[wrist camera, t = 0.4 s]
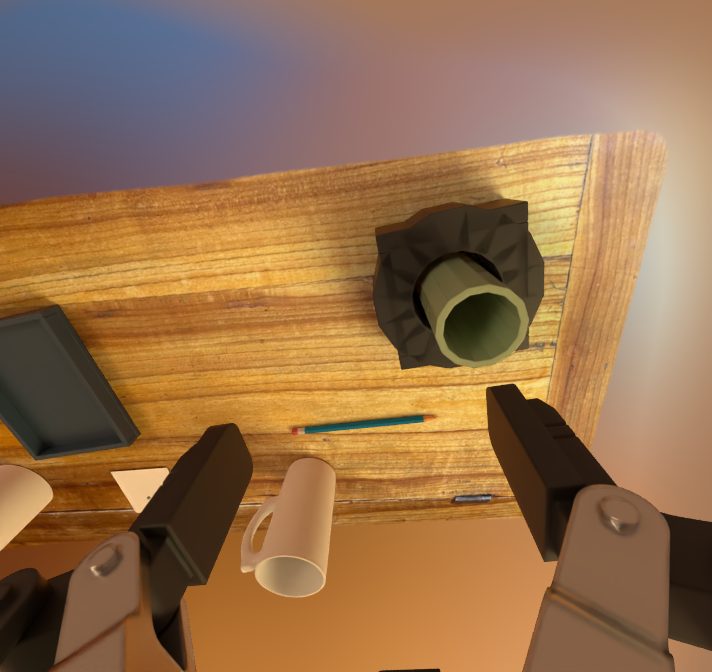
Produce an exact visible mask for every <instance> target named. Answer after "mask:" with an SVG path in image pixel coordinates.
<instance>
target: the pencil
mask: <svg viewBox="0 0 712 672" xmlns="http://www.w3.org/2000/svg"><path fill="white" fill-rule="evenodd" d="M436 418H438V417H436V416H413V417H403V418H393V419H383V420H373V421H363V422H353V423H343V424H333V425H323V426H313V427H303V428H293V429H292V434H293V435H297V434H307V433H318V432H328V431H338V430H348V429H359V428H369V427H379V426H389V425H399V424H410V423H420V422H426V421H429V420H432V419H436Z"/></svg>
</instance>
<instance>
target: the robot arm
mask: <svg viewBox="0 0 712 672" xmlns="http://www.w3.org/2000/svg"><path fill="white" fill-rule="evenodd" d="M486 400H487V417H488V430H489V436H490V440H491V444H492V447H493V449H494V452H495V454H496V456H497V458H498V460H499V463H500V465H501V467H502V469H503V472H504V474H505V476H506V478H507V480H508V483H509V485H510V487H511V489H512V492H513V494H514V496H515V498H516V500H517V503H518V505H519V507H520V509H521V511H522V514H523V516H524V518H525V520H526V523H527V525H528V527H529V529H530V531H531V534H532V536H533V538H534V540H535V542H536V545H537V547H538V549H539V551H540V553H541V556H542V558H543V560H544V562H549V561H558V563H557V566H556V570H555V574H554V578H553V581H552V584H551V586H550V587H548V588H547V589H546V591H545V594H544V597H543V600H542V603H541V607H540V610H539V614H538V618H537V621H536V624H535V628H534V632H533V635H532V639H531V642H530V646H529V649H528V653H527V657H526V660H525V664H524V667H523V671H522V672H675V666H674V659H673V656H672V654H670V653H669V648H668V638H670V639H673V640H676V641H680V642H683V643H687V644H691V645H693V646H697V647H700V648H704V649H707V650H710V651H712V522H707V521H701V520H695V519H689V518H684V517H678V516H673V515H669V514H665V513H662V512H659V511H658V509H656V508H655V507H654V506H653V505H652V504H651V503H650V502H648V501H647V500H646V499H644V498H642V497H641V496H639V495H637V494H635V493H633V492H631V491H629V490H626V489H624V488H620V487H618V486H617V485H616V484H615V483H614V481H613V480H612V479H611V478H610V476H609V475H608V474H607V473H606V471H605V470H604V469H603V468H602V466H601V465H600V464H599V463H598V462H597V460H596V459H595V458H594V457H593V455H592V454H591V453H590V452H589V450H588V449H587V448H586V447H585V445H584V444H583V443H582V442H581V440H580V439H579V438H578V437H576V436H575V433H574V432H573V431H572V429H571V428H570V427H569V426H568V425H566V422H565V421H564V419H563V418H562V417H561V416H560V415H559V413H558V412H557V411H556V410H555V408H553V407H551V406H550V405H548V404H546V403H545V402H543V401H541V400H540V399H538V398H535V399H528V400H526V399H525V397H524V396H523V395H522V393H521V392H520V390H519V389H518V388H517V386H516V385H515V384H507V385H500V386H493V387H487V389H486ZM252 472H253V462H252V458H251V455H250V453H249V451H248V448H247V446H246V444H245V442H244V440H243V437H242V435H241V433H240V431H239V428H238V427H237V425H236V424H234V423H229V424H222V425H215V426H210V427H209V428H208V429H207V430H206V431H205V433H204V434H203V436H202V437H201V438H200V440H199V441H198V443H197V444H195V445H194V446H192V447H191V448H190V449H189V450H188V451H187V452H186V453H185V454H183V455H182V456H181V457H180V459H179V460H178V462H177V463H176V464H175V466H174V467H173V469H172V470H171V473H169V474H168V476H167V477H166V478H165V480H164V481H163V485H160V487H159V488H158V490H157V491H156V492H155V494H154V495H153V497H152V498H151V499H150V501H149V502H148V503H147V505H146V506H145V508H144V509H143V510H142V512H141V513H140V515H139V516H138V517H137V519H136V520H135V522H134V523H133V524H132V526H131V527H130V529H129V530H128V531H127V532H122V533H118V534H116V535H113V536H111V537H109V538H107V539H106V540H104V541H103V542H101V543H100V544H98V545H97V546H96V547H95V548H93V549H92V550H91V551H90V552H89V553H88V554H87V555H86V556H85V557H84V558H83V559H82V560H81V562H80V563H79V564H78V566H77V567H76V569H74V570H71V571H69V572H66V573H64V574H61V575H59V576H56V577H53V578H51V579H48V580H46V579H45V578H44V577H43V576H42V575H41V574H40V573H39V572H38V571H37V570H36V569H34V568H26V569H22V570H19V571H17V572H15V573H12V574H10V575H9V576H7V577H5V578H3V579H2V580H0V671H1V672H196V665H195V659H194V652H193V646H192V639H191V632H190V626H189V619H188V612H187V605H186V602H185V600H184V599H183V595H184V592H185V590H186V588H187V586H196V585H206V583H207V581H208V578H209V576H210V574H211V571H212V569H213V567H214V564H215V562H216V559H217V557H218V555H219V552H220V550H221V548H222V545H223V543H224V541H225V538H226V536H227V534H228V531H229V529H230V527H231V524H232V522H233V519H234V517H235V515H236V512H237V510H238V508H239V505H240V503H241V501H242V498H243V496H244V493H245V491H246V489H247V486H248V484H249V482H250V479H251V477H252ZM379 672H440V669H415V670H386V671H385V670H383V671H379Z"/></svg>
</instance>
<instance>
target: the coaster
mask: <svg viewBox="0 0 712 672" xmlns="http://www.w3.org/2000/svg"><path fill="white" fill-rule="evenodd" d="M111 473H112V475H113V477H114V478H115V480H116V481H117V483H118V485H119V486H120V488H121V489H122V491H123V492H124V494H125V496H126V497H127V499H128V500H129V502H130V504H131V505H132V507H133V508H134V510H135V511H136V513H139V512H142V510H143V509H144V508H145V506H146V505H147V503H148V502H149V501H150V499H151V498H152V497H153V495H154V494H155V492H156V491H157V490H158V488H159V487H160V485H163V481H164V480H165V478H166V477H167V476H168V474H169V471H168V469H167V468H157V469H143V470H130V471H117V472H111Z"/></svg>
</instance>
